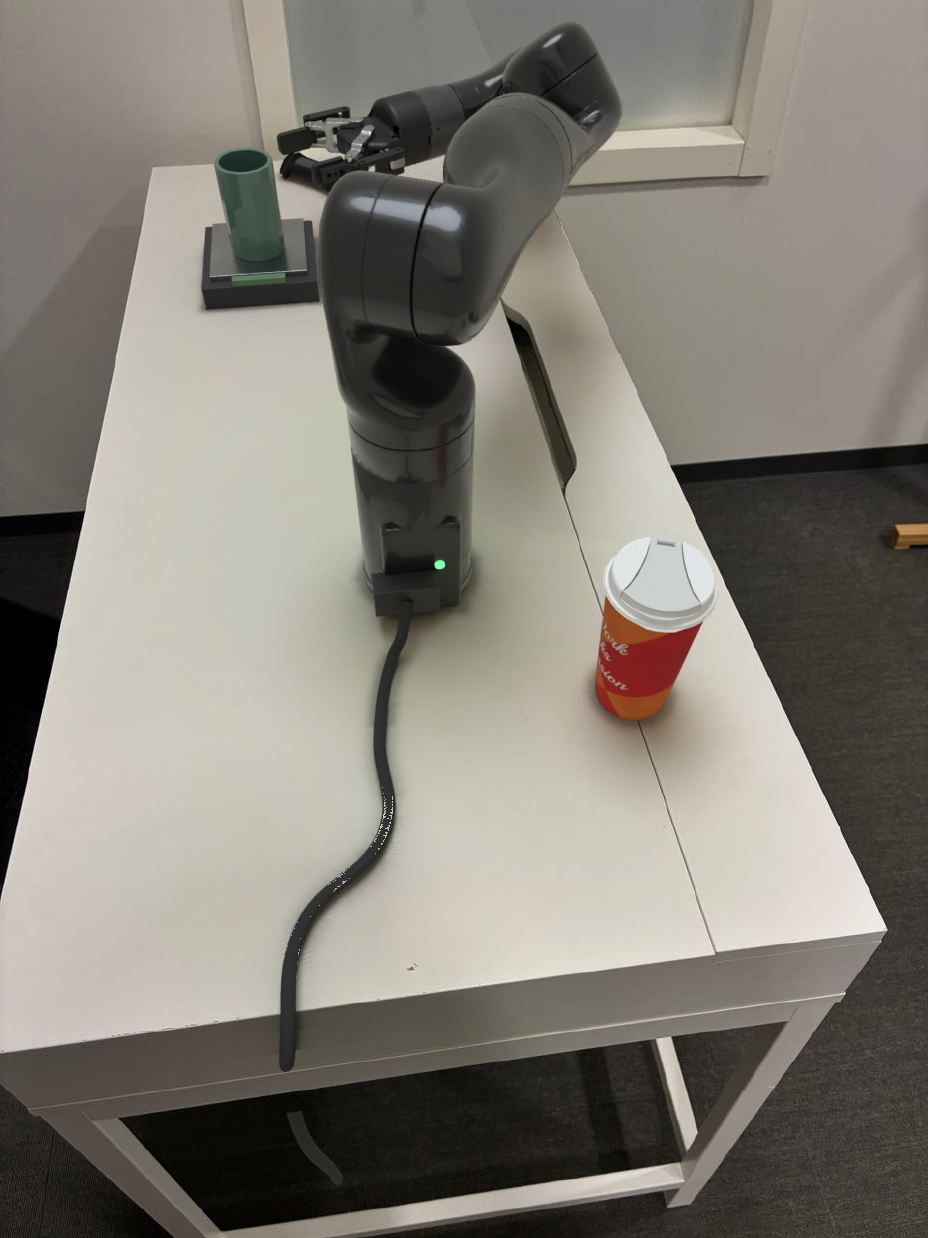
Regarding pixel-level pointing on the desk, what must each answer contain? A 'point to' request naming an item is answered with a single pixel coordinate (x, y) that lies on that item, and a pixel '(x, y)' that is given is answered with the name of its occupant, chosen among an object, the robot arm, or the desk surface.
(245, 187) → the tumbler
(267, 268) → the scale
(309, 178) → the electric trimmer
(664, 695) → the paper cup
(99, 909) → the desk surface
